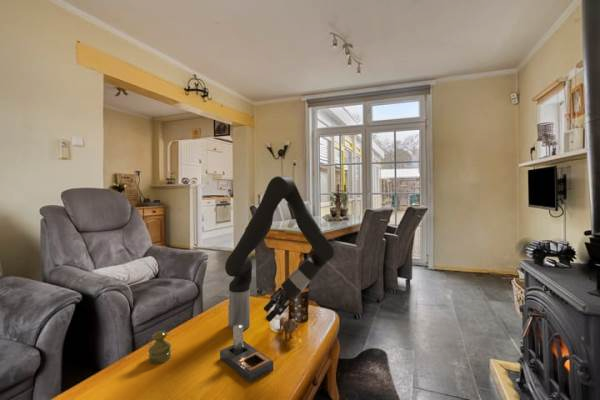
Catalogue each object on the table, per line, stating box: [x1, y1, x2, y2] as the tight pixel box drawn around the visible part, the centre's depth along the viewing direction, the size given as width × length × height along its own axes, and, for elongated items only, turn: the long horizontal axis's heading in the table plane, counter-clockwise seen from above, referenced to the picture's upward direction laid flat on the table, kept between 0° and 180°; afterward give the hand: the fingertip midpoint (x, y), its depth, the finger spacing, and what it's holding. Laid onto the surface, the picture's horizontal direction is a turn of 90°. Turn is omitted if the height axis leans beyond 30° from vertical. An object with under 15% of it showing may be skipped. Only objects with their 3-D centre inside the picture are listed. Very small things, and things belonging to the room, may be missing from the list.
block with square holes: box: [219, 340, 274, 384], centre depth 103 cm, size 19×10×3 cm, turn 45°
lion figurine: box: [278, 316, 300, 341], centre depth 123 cm, size 15×5×9 cm, turn 34°
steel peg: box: [232, 324, 244, 356], centre depth 106 cm, size 4×4×12 cm
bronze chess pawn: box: [148, 330, 172, 365], centre depth 105 cm, size 7×7×10 cm
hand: (266, 315), depth 108 cm, fingers open, 8 cm apart
